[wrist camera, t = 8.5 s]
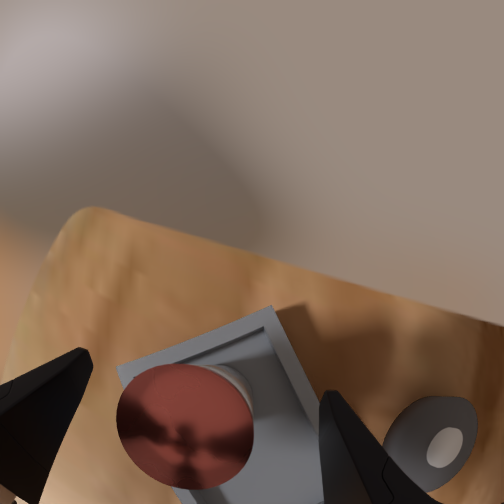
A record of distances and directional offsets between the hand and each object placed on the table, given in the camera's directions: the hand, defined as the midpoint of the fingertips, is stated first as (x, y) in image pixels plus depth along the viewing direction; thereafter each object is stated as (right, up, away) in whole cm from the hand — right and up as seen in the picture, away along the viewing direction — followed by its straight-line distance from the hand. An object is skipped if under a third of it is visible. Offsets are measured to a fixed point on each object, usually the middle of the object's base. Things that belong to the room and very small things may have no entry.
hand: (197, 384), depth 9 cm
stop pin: (0, -5, +7) cm, 9 cm away
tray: (+1, -8, +7) cm, 11 cm away
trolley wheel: (+16, -11, +6) cm, 20 cm away
